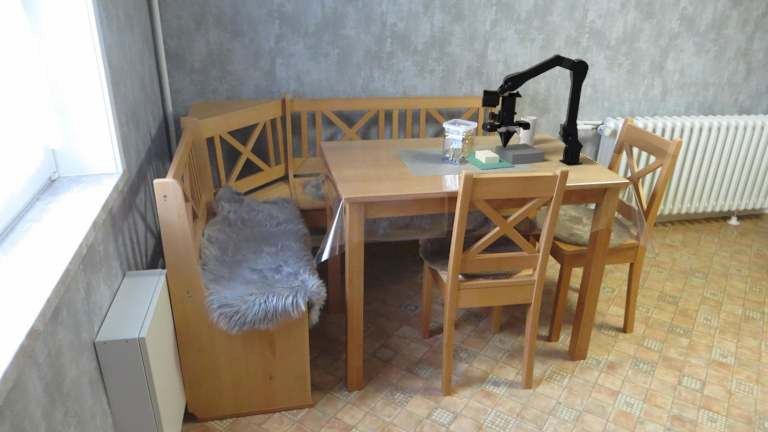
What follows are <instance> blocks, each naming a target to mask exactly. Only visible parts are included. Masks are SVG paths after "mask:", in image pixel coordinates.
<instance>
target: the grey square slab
mask: <svg viewBox="0 0 768 432" xmlns="http://www.w3.org/2000/svg"><path fill="white" fill-rule="evenodd" d="M494 153H495V154H497V155H498V156H499V157H500V158H501V159H503V160H505V161H507V162H508V163H510V164H512V165H514V166H515V165H523V164H535V163H543V162H544V155H545V151H543V150H540V149H538V148H536V147H534V146H533V145H532V146H530V145H528V144H526V143H524V144H519V143H516V144H515V143H513V144H507V146H506V147H505V148H503V147H502V144H501V145H500V144H499V145H495V150H494Z"/></svg>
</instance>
